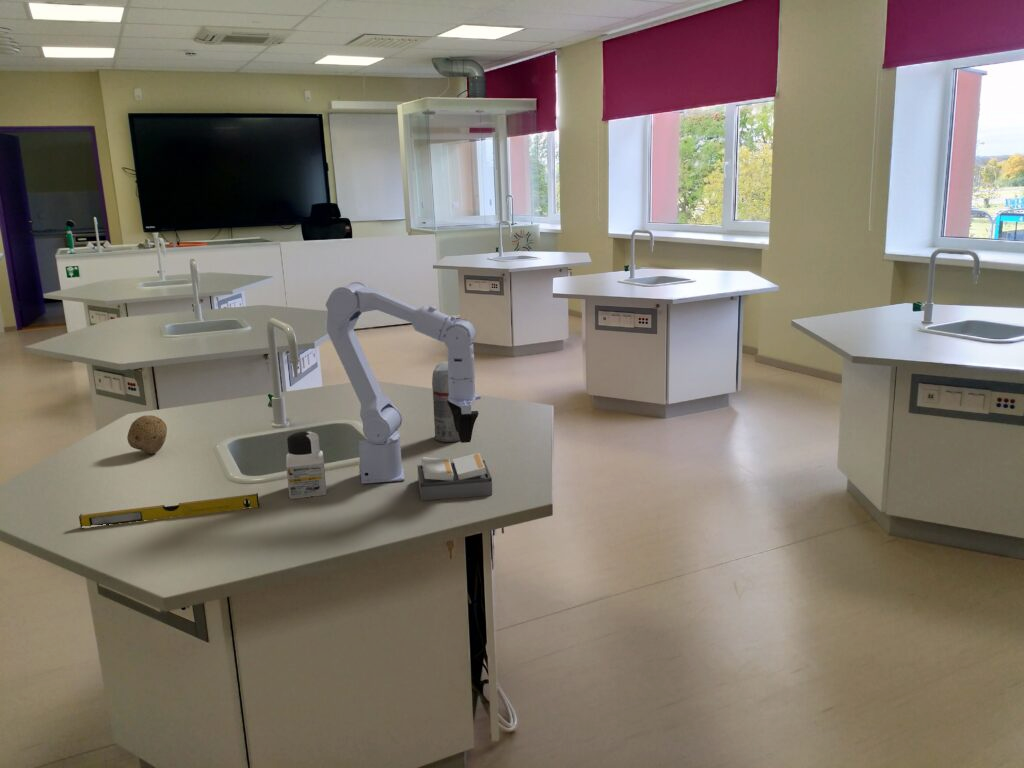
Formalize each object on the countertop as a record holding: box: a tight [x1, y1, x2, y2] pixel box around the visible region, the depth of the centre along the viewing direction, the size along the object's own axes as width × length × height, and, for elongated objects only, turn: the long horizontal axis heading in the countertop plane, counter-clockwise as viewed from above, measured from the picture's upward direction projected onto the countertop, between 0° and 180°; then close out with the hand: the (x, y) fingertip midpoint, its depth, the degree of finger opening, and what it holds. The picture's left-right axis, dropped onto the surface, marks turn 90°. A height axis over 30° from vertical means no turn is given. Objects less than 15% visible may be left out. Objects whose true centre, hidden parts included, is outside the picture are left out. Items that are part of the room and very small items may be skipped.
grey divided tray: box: [416, 459, 493, 502], centre depth 172 cm, size 15×12×4 cm
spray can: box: [431, 361, 461, 443], centre depth 203 cm, size 8×8×20 cm
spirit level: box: [78, 492, 260, 528], centre depth 160 cm, size 33×1×3 cm, turn 106°
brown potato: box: [126, 414, 168, 455], centre depth 197 cm, size 9×9×10 cm
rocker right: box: [452, 452, 487, 480], centre depth 172 cm, size 6×10×2 cm, turn 9°
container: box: [285, 430, 328, 500], centre depth 171 cm, size 8×8×13 cm
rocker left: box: [421, 456, 454, 481], centre depth 171 cm, size 6×10×2 cm, turn 10°
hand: (463, 436), depth 174 cm, fingers open, 7 cm apart
